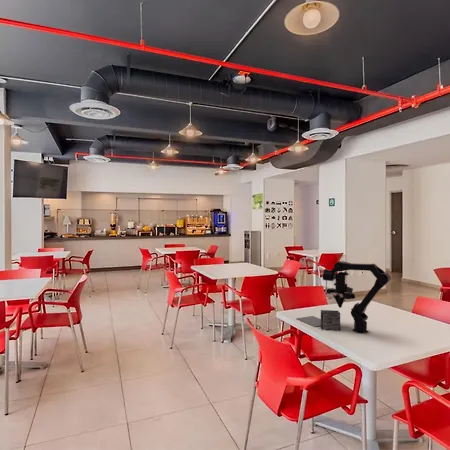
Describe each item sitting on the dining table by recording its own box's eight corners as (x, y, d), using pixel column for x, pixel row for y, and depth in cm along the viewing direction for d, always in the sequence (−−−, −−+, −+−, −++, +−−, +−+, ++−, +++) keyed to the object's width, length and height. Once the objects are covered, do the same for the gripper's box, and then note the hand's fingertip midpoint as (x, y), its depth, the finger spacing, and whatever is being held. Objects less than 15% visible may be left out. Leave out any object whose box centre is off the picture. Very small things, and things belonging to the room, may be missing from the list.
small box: (337, 327, 200) (338, 310, 200) (340, 330, 194) (340, 313, 193) (320, 326, 201) (320, 309, 201) (322, 330, 195) (322, 312, 194)
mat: (332, 324, 205) (332, 323, 205) (314, 327, 199) (314, 326, 199) (312, 316, 222) (312, 315, 222) (296, 319, 215) (296, 318, 215)
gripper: (362, 283, 195) (361, 309, 195) (339, 278, 212) (339, 302, 213) (347, 285, 191) (347, 311, 191) (325, 279, 208) (325, 304, 208)
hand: (340, 307), depth 201 cm, fingers closed
